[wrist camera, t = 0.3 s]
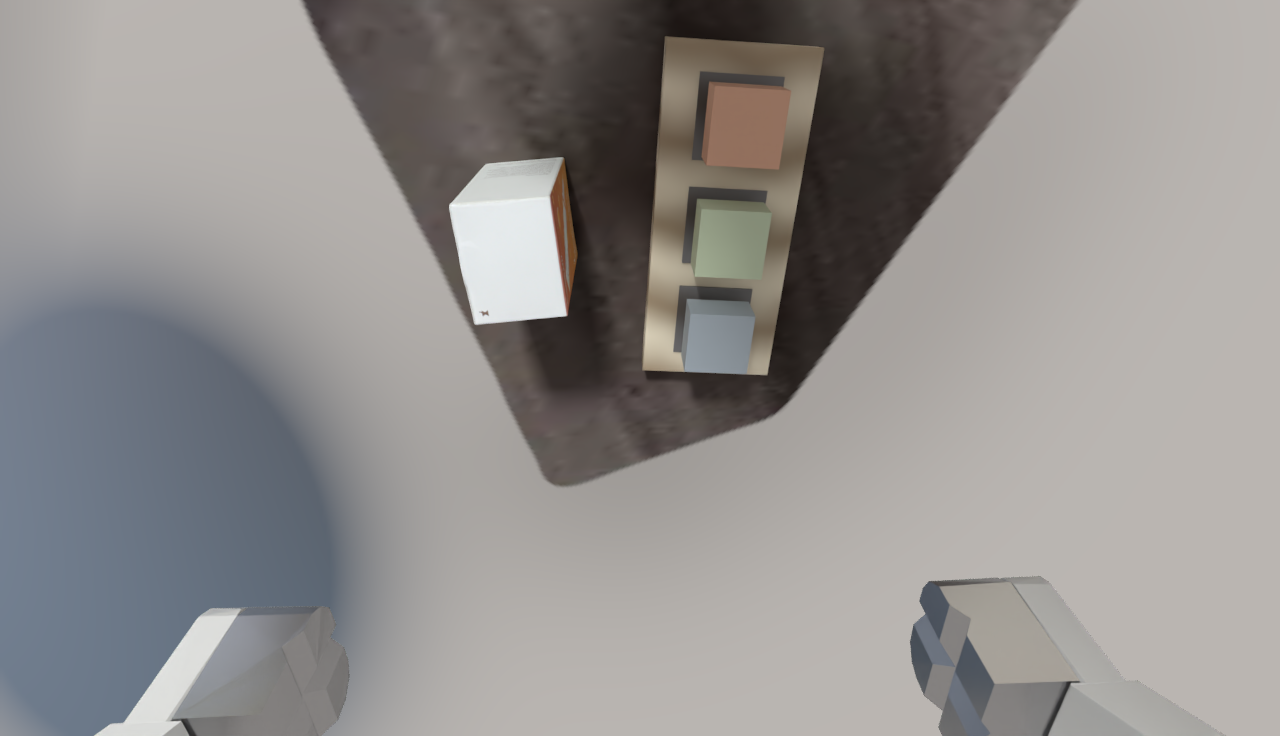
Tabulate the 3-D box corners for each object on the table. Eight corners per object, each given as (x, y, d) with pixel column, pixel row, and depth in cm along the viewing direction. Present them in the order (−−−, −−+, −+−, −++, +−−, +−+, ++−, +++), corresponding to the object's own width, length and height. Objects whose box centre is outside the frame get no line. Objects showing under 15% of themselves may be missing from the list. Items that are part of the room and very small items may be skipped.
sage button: (697, 198, 49) (701, 209, 46) (763, 202, 49) (771, 213, 46) (690, 263, 51) (694, 276, 48) (754, 266, 51) (761, 279, 49)
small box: (579, 254, 54) (569, 319, 43) (502, 261, 54) (472, 328, 43) (565, 153, 50) (551, 195, 39) (483, 161, 51) (444, 204, 39)
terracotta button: (709, 81, 45) (714, 85, 42) (781, 86, 45) (791, 90, 43) (701, 157, 47) (706, 165, 45) (769, 161, 48) (778, 169, 45)
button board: (665, 36, 47) (667, 37, 45) (816, 46, 47) (825, 47, 45) (642, 359, 59) (642, 371, 57) (762, 364, 60) (767, 376, 58)
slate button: (686, 298, 53) (690, 313, 50) (748, 301, 53) (755, 316, 50) (681, 354, 55) (684, 371, 52) (740, 356, 55) (746, 374, 53)
